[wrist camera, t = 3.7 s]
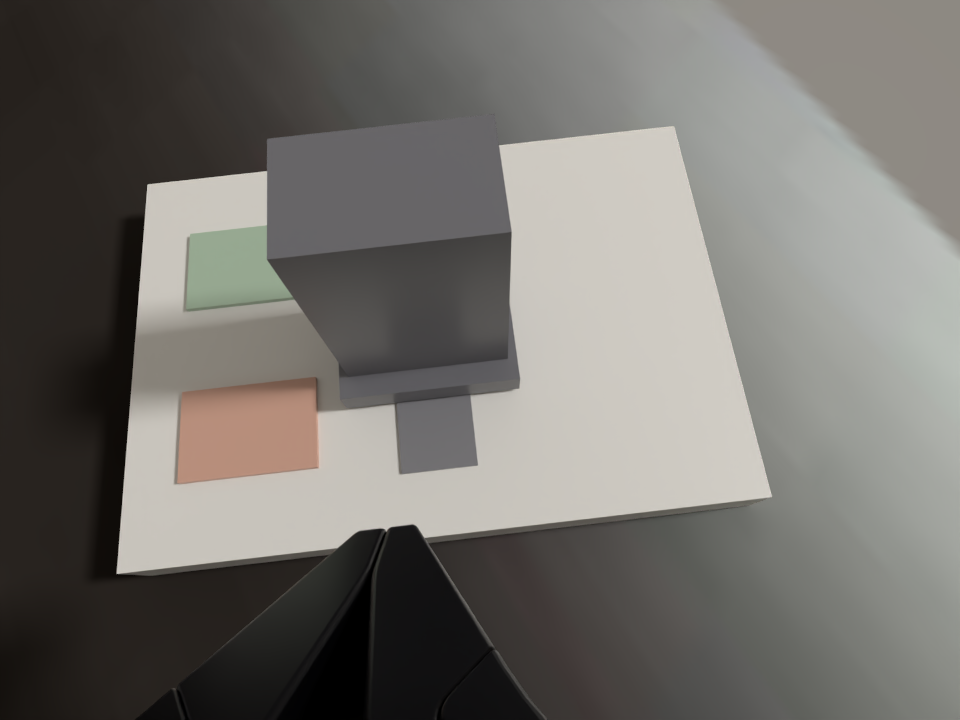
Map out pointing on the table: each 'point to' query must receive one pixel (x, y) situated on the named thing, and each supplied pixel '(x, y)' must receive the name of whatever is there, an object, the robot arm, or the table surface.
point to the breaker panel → (447, 420)
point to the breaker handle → (399, 255)
